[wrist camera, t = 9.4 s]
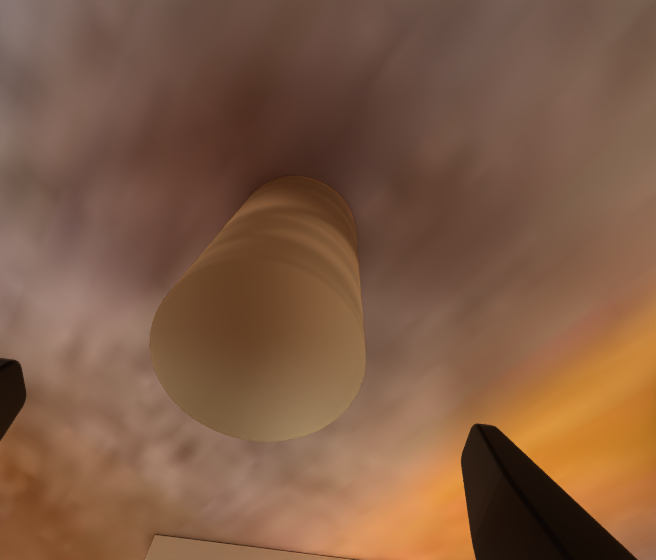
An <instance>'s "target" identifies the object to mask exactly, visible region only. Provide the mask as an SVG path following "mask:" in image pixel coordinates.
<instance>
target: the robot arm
mask: <svg viewBox="0 0 656 560" xmlns="http://www.w3.org/2000/svg"><path fill="white" fill-rule="evenodd" d="M25 400H26V388H25V383H24V378H23V372H22V367H21V364H20V363H19V362H18V361H16V360H13V359H6V358H0V441H1V439H2V438H3V436H4V435H5V433H6V432H7V430H8V429H9V427H10V425H11V424H12V422H13V421H14V419H15V418H16V416H17V415H18V413H19V412H20V410H21V409H22V407H23V405H24V403H25ZM461 467H462V474H463V482H464V489H465V496H466V503H467V511H468V518H469V525H470V532H471V538H472V544H473V549H474V553H475V558H476V560H638V559H636V558H635V557H634V556H633V555H632V554H631V553H630V552H629V551H628V550H627V549H626V548H625V547H624V546H623V545H622V544H620V543H619V542H618V541H617V540H616V539H615V538H614V537H613V536H612V535H611V534H610V533H609V532H608V531H607V530H606V529H605V528H603V527H602V526H601V525H600V524H599V523H598V522H597V521H596V520H595V519H594V518H593V517H592V516H591V515H590V514H589V513H587V512H586V511H585V510H584V509H583V508H582V507H581V506H580V505H579V504H578V503H577V502H576V501H575V500H574V499H573V498H571V497H570V496H569V495H568V494H567V493H566V492H565V491H564V490H563V489H562V488H561V487H560V486H559V485H558V484H557V483H556V482H554V481H553V480H552V479H551V478H550V477H549V476H548V475H547V474H546V473H545V472H544V471H543V470H542V469H541V468H540V467H538V466H537V465H536V464H535V463H534V462H533V461H532V460H531V459H530V458H529V457H528V456H527V455H526V454H525V453H524V452H523V451H521V450H520V449H519V448H518V447H517V446H516V445H515V444H514V443H513V442H512V441H511V440H510V439H509V438H508V437H507V436H505V435H504V434H503V433H502V432H501V431H500V430H499V429H498V428H497V427H495V426H492V425H486V424H478V423H477V424H474V425H473V426H472V428H471V430H470V433H469V435H468V438H467V441H466V444H465V446H464V449H463V452H462V456H461Z"/></svg>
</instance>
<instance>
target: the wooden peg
mask: <svg viewBox="0 0 656 560" xmlns="http://www.w3.org/2000/svg"><path fill="white" fill-rule="evenodd" d="M150 352H151V359H152V363H153V366H154V370H155V372H156V374H157V377H158V379H159V381H160V383H161V384H162V386H163V388H164V389H165V391H166V392H167V393H168V395H169V396H170V397H171V399H172V400H173V401H174V402H175V403H176V404H177V405H178V406H179V407H180V408H181V409H182V410H183V411H184V412H186V413H187V414H188V415H189V416H191V417H192V418H193V419H195V420H196V421H198V422H200V423H201V424H203V425H205V426H207V427H209V428H211V429H212V430H215V431H217V432H220V433H222V434H225V435H228V436H232V437H235V438H239V439H244V440H250V441H261V442H276V441H285V440H291V439H295V438H300V437H303V436H306V435H309V434H312V433H314V432H316V431H318V430H320V429H322V428H324V427H326V426H327V425H329V424H330V423H332V422H333V421H334V420H336V419H337V418H338V417H339V416H340V415H342V414H343V413H344V411H345V410H346V409H347V408H348V407H349V406H350V405H351V403H352V402H353V400H354V399H355V397H356V395H357V393H358V391H359V389H360V387H361V384H362V381H363V378H364V374H365V366H366V350H365V337H364V325H363V312H362V299H361V287H360V274H359V261H358V248H357V236H356V226H355V221H354V218H353V215H352V212H351V210H350V208H349V206H348V205H347V203H346V202H345V200H344V199H343V198H342V197H341V196H340V195H339V194H338V193H337V192H336V191H335V190H334V189H333V188H331V187H330V186H328V185H327V184H325V183H323V182H321V181H319V180H316V179H313V178H309V177H305V176H285V177H280V178H276V179H273V180H271V181H269V182H267V183H265V184H263V185H262V186H260V187H259V188H258V189H256V190H255V191H254V192H253V193H252V194H251V196H250V197H249V198H248V199H247V200H246V201H245V203H244V204H243V205H242V206H241V207H240V209H239V210H238V211H237V212H236V213H235V215H234V216H233V217H232V218H231V219H230V221H229V222H228V223H227V224H226V225H225V227H224V228H223V229H222V230H221V231H220V232H219V234H218V235H217V236H216V237H215V238H214V240H213V241H212V242H211V243H210V244H209V246H208V247H207V248H206V249H205V250H204V252H203V253H202V254H201V255H200V256H199V258H198V259H197V260H196V261H195V262H194V263H193V265H192V266H191V267H190V268H189V269H188V271H187V272H186V273H185V274H184V275H183V277H182V278H181V279H180V280H179V281H178V283H177V284H176V285H175V286H174V287H173V289H172V290H171V291H170V292H169V293H168V295H167V296H166V297H165V298H164V299H163V301H162V303H161V304H160V306H159V308H158V310H157V312H156V314H155V317H154V319H153V322H152V327H151V332H150Z"/></svg>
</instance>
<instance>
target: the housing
mask: <svg viewBox="0 0 656 560" xmlns="http://www.w3.org/2000/svg"><path fill="white" fill-rule="evenodd" d="M145 560H351V559H343V558H335V557H327V556H319V555H311V554H304V553H296V552H288V551H280V550H272V549H264V548H256V547H248V546H240V545H232V544H224V543H216V542H208V541H200V540H192V539H185V538H177V537H169V536H161V535H155V536H154V539H153V541H152V543H151V546H150V548H149V551H148V553H147V555H146V558H145Z"/></svg>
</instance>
